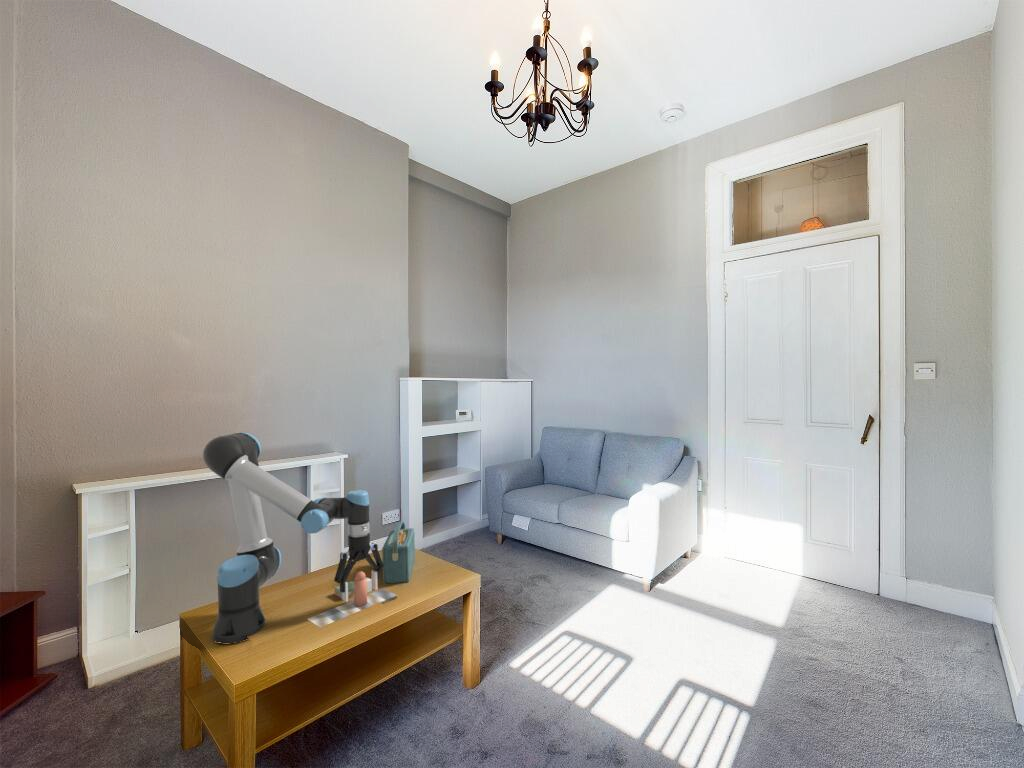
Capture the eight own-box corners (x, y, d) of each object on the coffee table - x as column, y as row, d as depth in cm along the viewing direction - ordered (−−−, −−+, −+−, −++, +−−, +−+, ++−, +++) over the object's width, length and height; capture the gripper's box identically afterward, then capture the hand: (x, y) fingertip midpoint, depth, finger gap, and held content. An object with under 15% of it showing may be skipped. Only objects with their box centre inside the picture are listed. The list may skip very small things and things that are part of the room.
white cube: (361, 583, 179) (371, 579, 183) (355, 580, 182) (365, 576, 185) (361, 595, 179) (372, 591, 183) (355, 592, 182) (365, 587, 185)
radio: (391, 561, 213) (390, 517, 213) (415, 559, 214) (414, 516, 215) (381, 585, 188) (380, 535, 188) (409, 583, 189) (407, 533, 189)
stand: (344, 603, 172) (344, 592, 172) (335, 597, 177) (334, 587, 177) (361, 596, 178) (361, 585, 178) (351, 591, 182) (351, 581, 182)
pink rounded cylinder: (358, 607, 166) (358, 575, 166) (352, 604, 169) (351, 572, 169) (369, 603, 169) (369, 571, 169) (363, 599, 172) (362, 568, 172)
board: (320, 631, 153) (320, 627, 153) (307, 622, 159) (307, 619, 159) (396, 598, 176) (396, 594, 176) (383, 591, 181) (383, 588, 181)
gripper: (333, 545, 158) (335, 609, 158) (392, 527, 176) (393, 586, 176) (322, 540, 163) (324, 603, 163) (381, 524, 181) (382, 580, 180)
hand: (360, 594), depth 169 cm, fingers open, 11 cm apart
